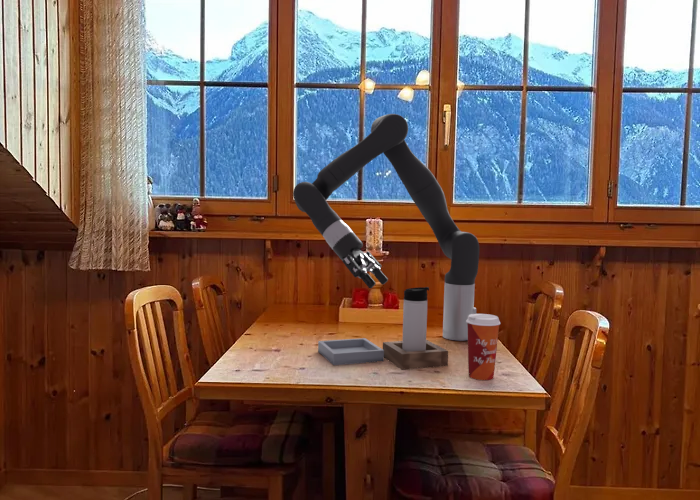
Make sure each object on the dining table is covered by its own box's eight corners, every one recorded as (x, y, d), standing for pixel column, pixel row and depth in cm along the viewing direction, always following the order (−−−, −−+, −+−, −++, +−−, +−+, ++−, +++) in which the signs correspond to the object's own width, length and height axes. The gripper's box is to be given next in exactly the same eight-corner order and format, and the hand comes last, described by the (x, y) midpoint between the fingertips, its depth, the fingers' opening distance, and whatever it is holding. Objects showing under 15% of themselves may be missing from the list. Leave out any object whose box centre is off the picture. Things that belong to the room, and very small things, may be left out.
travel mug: (425, 365, 155) (428, 289, 154) (400, 363, 157) (402, 288, 155) (427, 359, 162) (429, 285, 160) (403, 357, 163) (405, 284, 161)
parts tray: (364, 348, 171) (365, 338, 171) (383, 361, 158) (384, 350, 158) (318, 351, 167) (318, 341, 167) (333, 365, 154) (333, 353, 153)
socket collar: (425, 353, 167) (425, 339, 167) (447, 366, 155) (448, 350, 155) (382, 356, 163) (382, 342, 163) (402, 369, 151) (402, 354, 150)
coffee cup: (478, 383, 141) (481, 321, 140) (457, 374, 148) (459, 314, 147) (505, 379, 145) (508, 318, 143) (483, 370, 152) (485, 312, 151)
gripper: (339, 232, 158) (378, 278, 154) (362, 230, 171) (398, 272, 167) (321, 251, 161) (359, 296, 157) (345, 247, 174) (380, 289, 170)
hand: (379, 284), depth 162 cm, fingers open, 8 cm apart
